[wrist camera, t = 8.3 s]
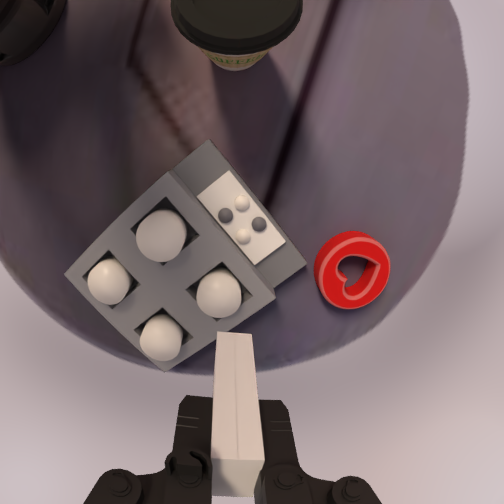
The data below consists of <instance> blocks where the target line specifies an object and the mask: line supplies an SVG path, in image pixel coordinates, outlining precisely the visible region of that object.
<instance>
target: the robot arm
mask: <svg viewBox="0 0 504 504" xmlns="http://www.w3.org/2000/svg"><path fill="white" fill-rule="evenodd" d="M65 1H66V0H0V65H2V66H8V65H13V64H16V63H18V62H20V61H22V60H24V59H25V58H27V57H28V56H29V55H31V54H32V53H33V52H34V51H35V50H36V49H38V48H39V47H40V45H41V44H42V43H43V42H44V41H45V40H46V39H47V37H48V36H49V35H50V33H51V32H52V31H53V29H54V27H55V26H56V24H57V22H58V20H59V18H60V16H61V14H62V12H63V9H64V5H65ZM253 494H254V498H255V504H382V503H381V502H380V500H379V499H378V497H377V496H376V494H375V493H374V491H373V490H372V488H371V487H370V485H369V484H368V483H367V482H366V481H365V480H363V479H361V478H359V477H355V476H347V477H343V478H341V479H339V480H338V481H336V482H333V481H326V480H321V479H317V478H313V477H311V476H309V475H308V474H306V473H305V472H304V471H303V470H302V468H301V467H300V465H299V462H298V458H297V453H296V447H295V442H294V437H293V432H292V427H291V423H290V417H289V412H288V409H287V408H286V406H285V405H284V404H283V402H282V401H281V400H258V393H257V382H256V372H255V363H254V353H253V343H252V334H244V333H231V332H219V331H217V342H216V354H215V367H214V381H213V398H211V397H200V396H190V395H186V397H185V398H184V399H183V400H182V402H181V403H180V404H179V410H178V417H177V423H176V430H175V436H174V443H173V450H172V452H171V453H170V454H169V455H168V456H167V458H166V460H165V468H164V469H163V470H162V471H160V472H157V473H153V474H146V475H134V474H133V473H131V472H129V471H127V470H123V469H112V470H109V471H107V472H105V473H104V474H103V475H102V476H101V477H100V478H99V480H98V481H97V483H96V484H95V486H94V488H93V489H92V491H91V492H90V494H89V496H88V497H87V499H86V500H85V502H84V504H211V501H212V500H211V499H212V495H213V496H231V497H232V496H233V497H253Z"/></svg>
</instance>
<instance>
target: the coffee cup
mask: <svg viewBox="0 0 504 504" xmlns="http://www.w3.org/2000/svg"><path fill="white" fill-rule="evenodd" d="M302 8H303V0H171V14H172V18H173V21H174V23H175V26H176V27H177V28H178V30H179V31H180V33H181V34H182V35H183V36H184V37H185V38H186V39H187V40H189V41H190V42H191V43H193V44H195V45H196V46H198V47H199V48H200V49H201V50H202V52H203V53H204V54H205V55H206V56H207V57H208V58H209V59H210V60H212V61H213V62H214V63H215V64H216V65H218V66H219V67H221V68H223V69H225V70H230V71H239V70H244V69H247V68H249V67H251V66H252V65H254V64H255V63H256V62H257V61H259V60H260V59H261V58H263V56H264V55H265V54H266V53H267V52H268V51H269V50H270V49H271V48H272V47H273V46H276V45H277V44H279V43H280V42H282V41H283V40H284V39H286V38H287V37H288V36H289V35H290V34H291V33H292V32H293V31H294V29H295V28H296V26H297V24H298V22H299V21H300V17H301V14H302Z"/></svg>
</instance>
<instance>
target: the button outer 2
mask: <svg viewBox="0 0 504 504" xmlns="http://www.w3.org/2000/svg"><path fill="white" fill-rule="evenodd" d="M196 299H197V304H198V306H199V308H200V309H201V310H202V311H203V312H204V313H205V314H207V315H209V316H211V317H215V318H224V317H228V316H230V315H232V314H233V313H235V312H236V311H237V309H238V308H239V306H240V304H241V285H240V281H239V279H238V278H237V277H236V276H235V275H234V274H233V273H232V272H231V270H229V269H227V268H222V267H216V268H213V269H211V270H210V271H209V272H207V273H206V274H205V275H204V276H202V277H201V279H200V282H199V286H198V291H197V296H196Z"/></svg>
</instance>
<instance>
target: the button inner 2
mask: <svg viewBox="0 0 504 504" xmlns="http://www.w3.org/2000/svg"><path fill="white" fill-rule="evenodd" d="M186 237H187V225H186V222H185V220H184V219H183V217H182V216H181V215H180V214H179V213H178V212H176V211H174V210H172V209H167V208H162V209H158V210H155V211H154V212H152V213H151V214H150V215H149V216H148V217H146V218H145V219H144V220H143V221H142V222H141V224H140V225H139V227H138V229H137V233H136V242H137V245H138V248H139V249H140V251H141V252H142V254H143V255H144V256H146V257H147V258H149V259H150V260H153V261H156V262H166V261H169V260H172V259H173V258H175V257H176V256H177V255H178V254H179V252H180V251H181V249H182V247H183V244H184V242H185V240H186Z"/></svg>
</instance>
